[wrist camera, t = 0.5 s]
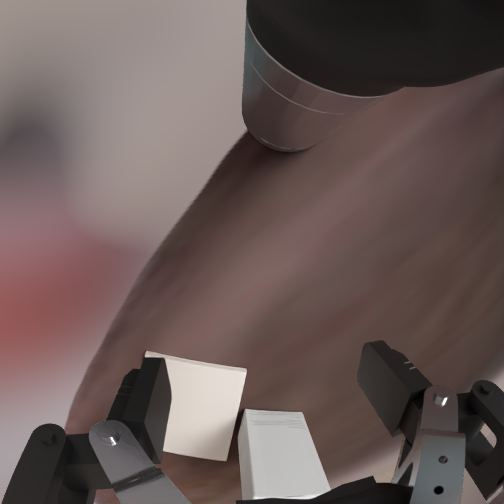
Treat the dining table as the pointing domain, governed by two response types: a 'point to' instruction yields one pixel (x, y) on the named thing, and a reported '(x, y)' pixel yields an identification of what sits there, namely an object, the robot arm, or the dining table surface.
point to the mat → (201, 407)
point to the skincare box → (278, 457)
